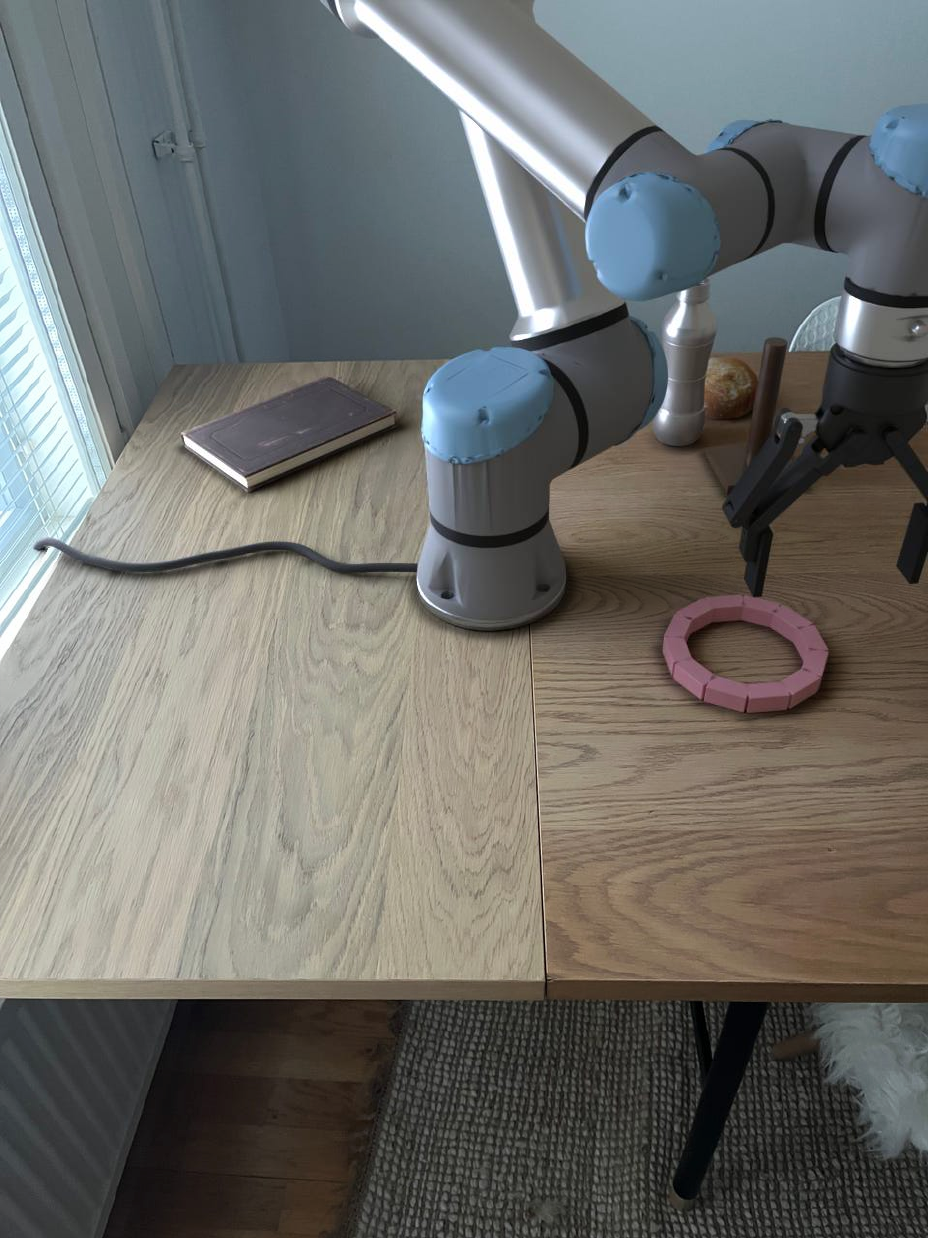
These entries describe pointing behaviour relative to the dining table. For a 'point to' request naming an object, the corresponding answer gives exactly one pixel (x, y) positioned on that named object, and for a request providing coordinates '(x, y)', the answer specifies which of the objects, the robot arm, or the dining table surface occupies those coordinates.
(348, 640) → the dining table surface
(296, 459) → the hardcover book
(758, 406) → the stand
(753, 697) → the ring
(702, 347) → the silver bottle
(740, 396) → the bread roll
